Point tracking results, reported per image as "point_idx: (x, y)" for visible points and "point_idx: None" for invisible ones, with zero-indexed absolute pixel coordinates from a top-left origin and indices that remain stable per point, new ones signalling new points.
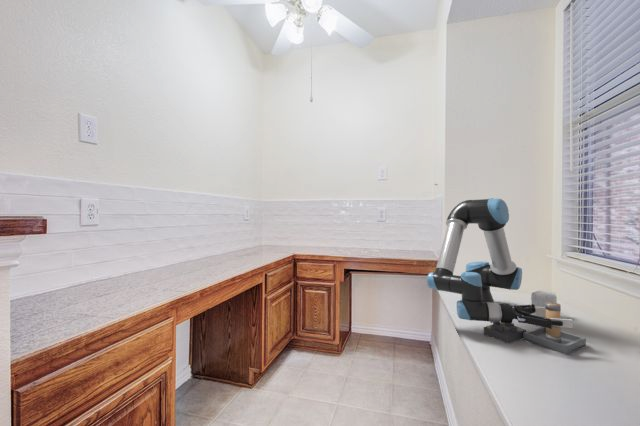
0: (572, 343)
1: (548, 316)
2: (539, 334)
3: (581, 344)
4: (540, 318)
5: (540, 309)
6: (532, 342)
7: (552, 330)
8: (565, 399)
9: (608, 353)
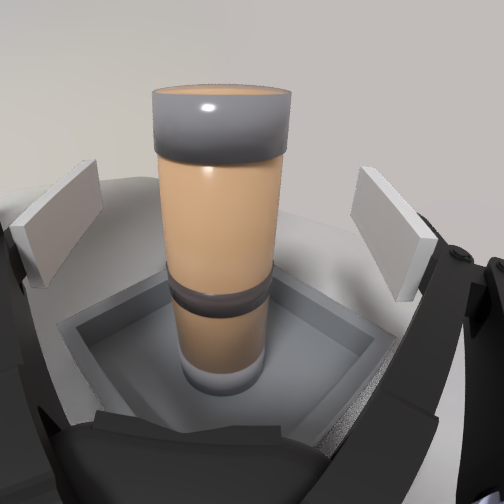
0: (331, 300)
1: (248, 236)
2: (124, 395)
3: None
4: (460, 313)
5: (49, 224)
6: None
7: (261, 322)
8: None
9: (279, 243)
